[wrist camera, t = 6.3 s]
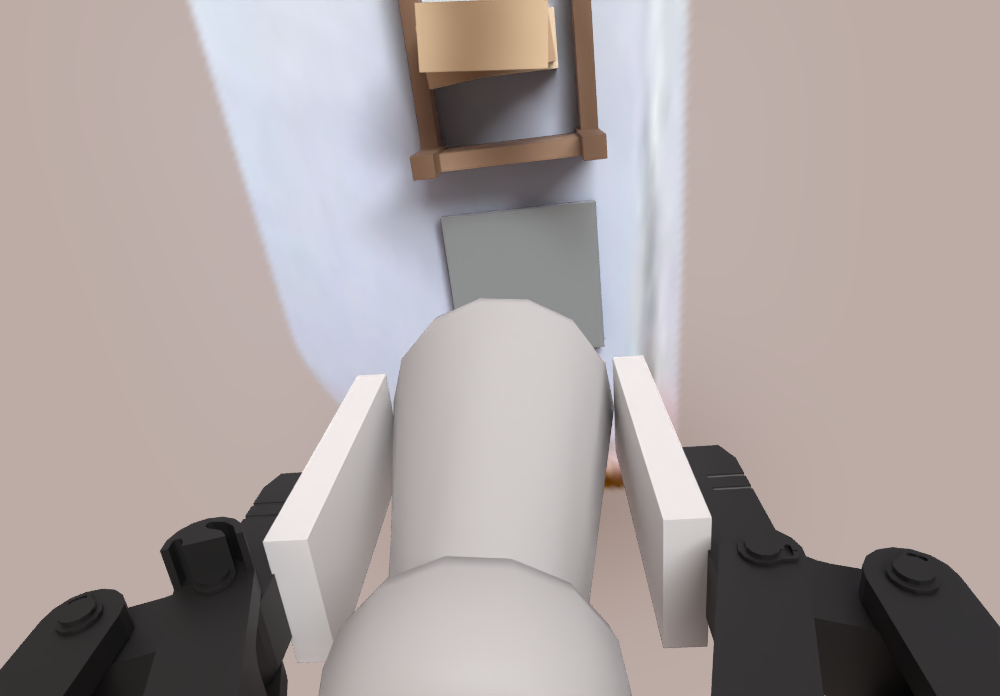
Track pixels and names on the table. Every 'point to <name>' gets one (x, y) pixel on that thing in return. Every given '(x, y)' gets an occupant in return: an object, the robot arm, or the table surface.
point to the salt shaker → (491, 517)
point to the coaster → (530, 260)
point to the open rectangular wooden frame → (580, 143)
